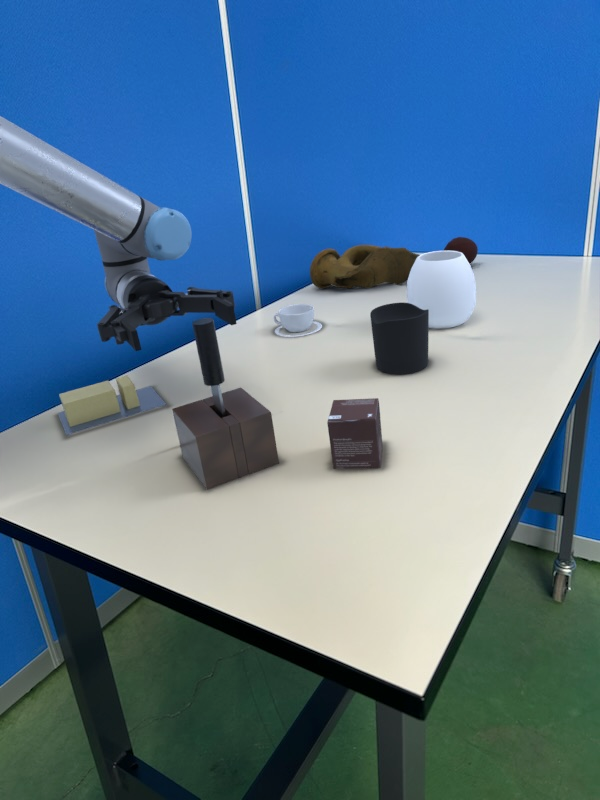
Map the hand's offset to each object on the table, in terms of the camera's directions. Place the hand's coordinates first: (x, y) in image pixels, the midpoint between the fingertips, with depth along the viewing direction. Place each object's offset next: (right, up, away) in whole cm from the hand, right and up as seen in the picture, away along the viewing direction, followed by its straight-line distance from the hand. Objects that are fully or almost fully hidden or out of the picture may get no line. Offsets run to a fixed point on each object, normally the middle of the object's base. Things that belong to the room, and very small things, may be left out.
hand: (186, 327), depth 83 cm
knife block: (+6, -18, 0) cm, 19 cm away
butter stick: (-18, -12, +18) cm, 28 cm away
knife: (+6, -18, 0) cm, 19 cm away
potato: (+57, +24, +77) cm, 99 cm away
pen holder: (+33, -4, +22) cm, 40 cm away
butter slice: (-13, -10, +20) cm, 26 cm away
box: (+23, -18, -3) cm, 29 cm away
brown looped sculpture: (+32, +18, +71) cm, 80 cm away
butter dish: (-16, -12, +19) cm, 28 cm away
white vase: (+43, +5, +40) cm, 60 cm away
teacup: (+15, +5, +47) cm, 49 cm away
